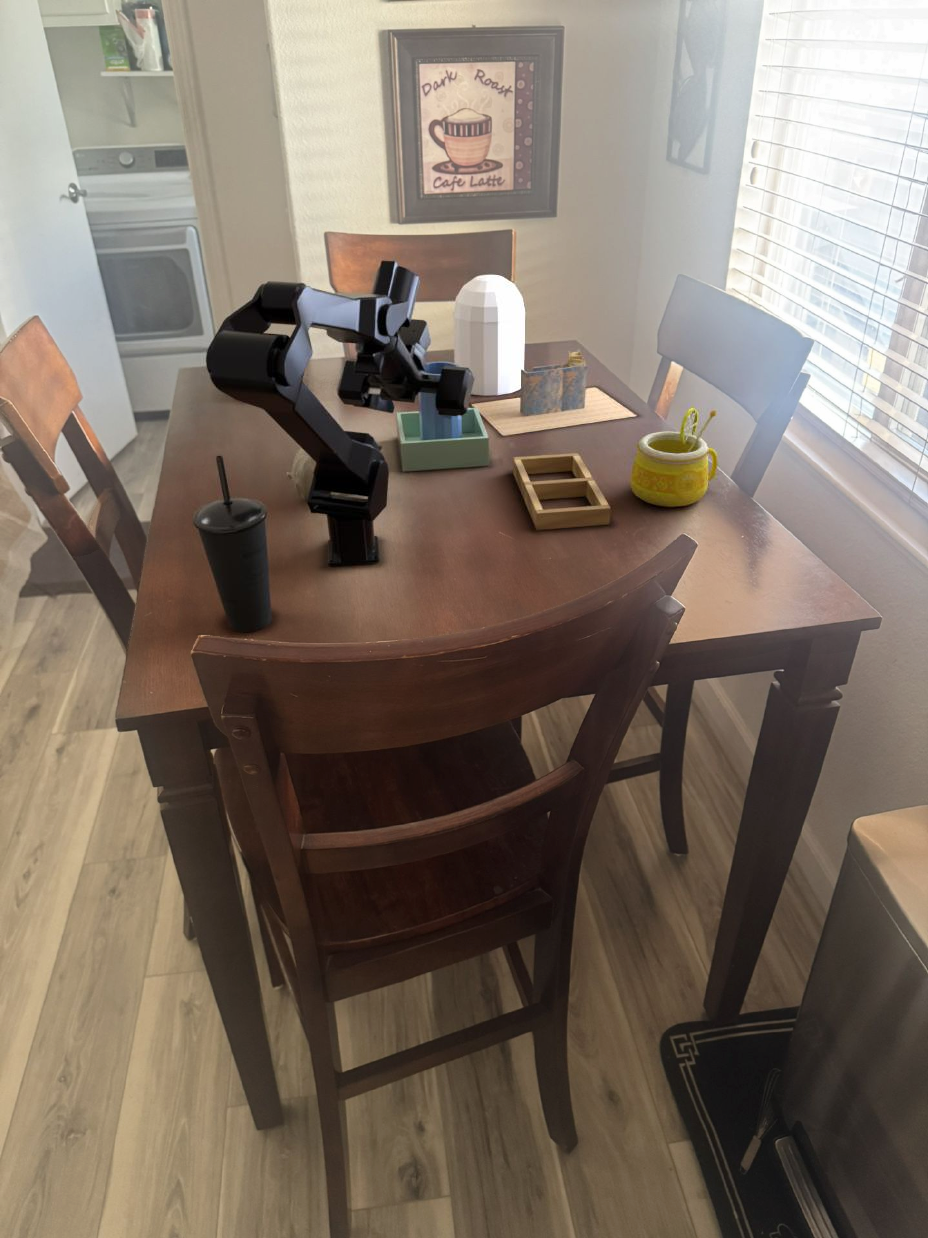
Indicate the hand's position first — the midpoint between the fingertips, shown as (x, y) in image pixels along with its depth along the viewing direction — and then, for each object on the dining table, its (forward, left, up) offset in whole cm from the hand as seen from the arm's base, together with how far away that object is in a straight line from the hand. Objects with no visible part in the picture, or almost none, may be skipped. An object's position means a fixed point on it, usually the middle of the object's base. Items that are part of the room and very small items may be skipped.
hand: (421, 412), depth 126 cm
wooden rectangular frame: (-12, -18, -9) cm, 24 cm away
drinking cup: (-38, +23, -10) cm, 46 cm away
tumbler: (+7, -3, -9) cm, 12 cm away
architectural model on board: (+23, -25, -10) cm, 35 cm away
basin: (+7, -3, -9) cm, 12 cm away
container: (+39, -16, -10) cm, 43 cm away
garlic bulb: (-7, +15, -10) cm, 19 cm away
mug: (-14, -35, -10) cm, 39 cm away
